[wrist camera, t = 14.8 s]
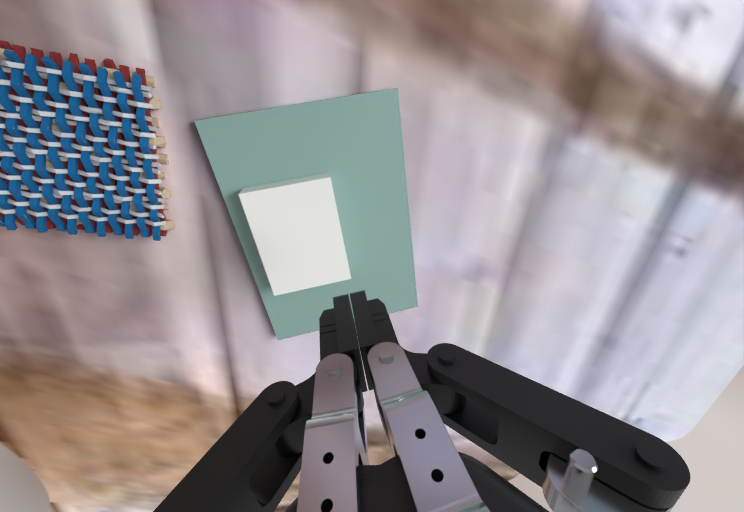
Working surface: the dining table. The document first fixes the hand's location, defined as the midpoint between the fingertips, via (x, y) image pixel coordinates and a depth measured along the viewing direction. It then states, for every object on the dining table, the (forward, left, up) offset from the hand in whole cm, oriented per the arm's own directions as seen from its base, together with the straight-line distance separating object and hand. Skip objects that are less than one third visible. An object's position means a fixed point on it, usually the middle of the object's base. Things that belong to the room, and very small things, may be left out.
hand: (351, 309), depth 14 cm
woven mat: (-8, -15, -12) cm, 21 cm away
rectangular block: (+4, -3, -10) cm, 11 cm away
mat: (0, 0, -11) cm, 11 cm away
